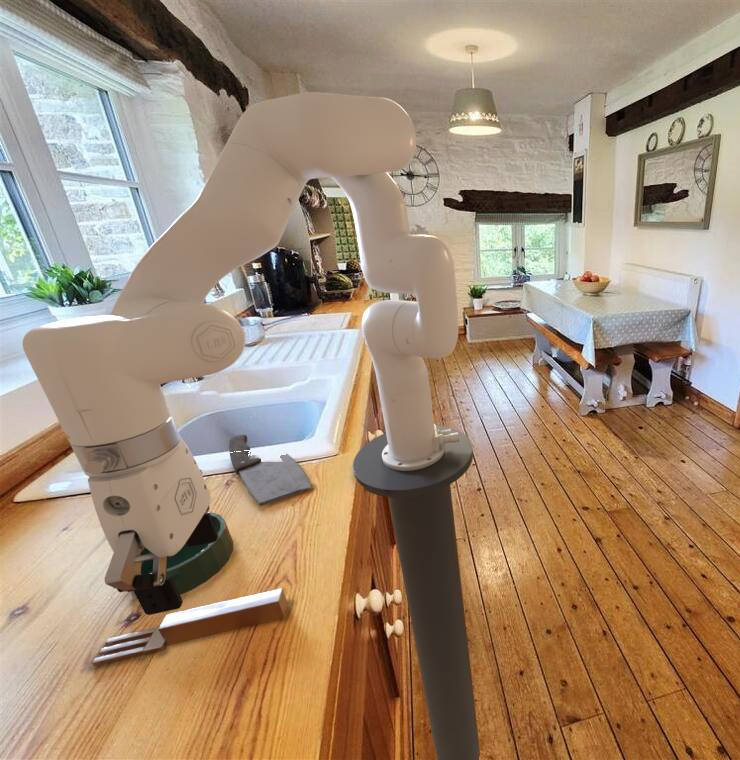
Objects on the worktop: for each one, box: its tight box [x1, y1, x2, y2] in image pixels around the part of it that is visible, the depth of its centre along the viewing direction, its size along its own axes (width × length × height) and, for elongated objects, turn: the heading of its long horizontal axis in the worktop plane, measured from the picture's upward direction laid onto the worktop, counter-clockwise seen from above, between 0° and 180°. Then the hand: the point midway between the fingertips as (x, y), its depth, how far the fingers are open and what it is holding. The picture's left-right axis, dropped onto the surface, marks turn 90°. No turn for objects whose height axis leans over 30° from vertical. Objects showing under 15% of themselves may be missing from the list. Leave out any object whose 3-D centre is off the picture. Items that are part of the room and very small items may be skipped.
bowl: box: [130, 511, 235, 600], centre depth 59 cm, size 12×12×5 cm
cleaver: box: [228, 434, 312, 507], centre depth 83 cm, size 29×10×2 cm, turn 45°
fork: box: [91, 587, 289, 668], centre depth 50 cm, size 20×3×3 cm, turn 105°
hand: (186, 572), depth 47 cm, fingers open, 9 cm apart
